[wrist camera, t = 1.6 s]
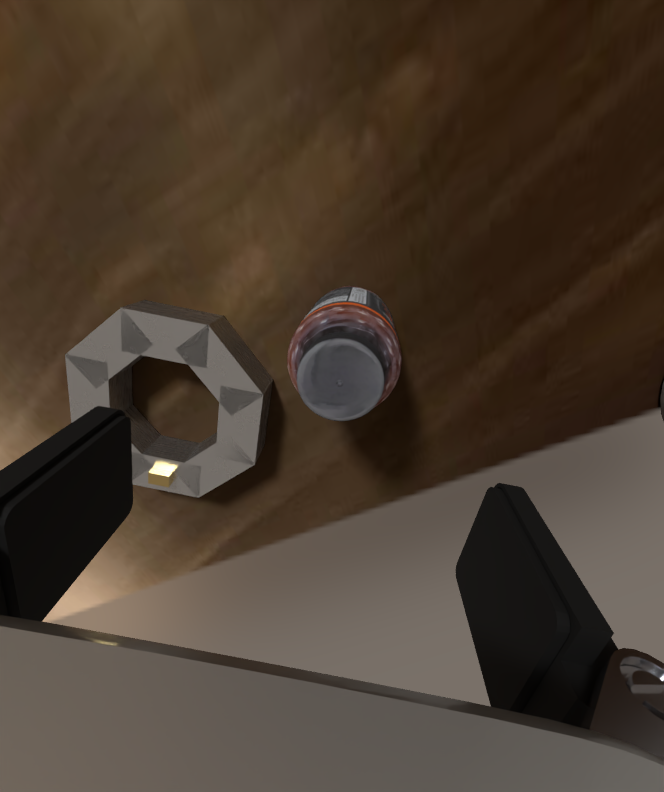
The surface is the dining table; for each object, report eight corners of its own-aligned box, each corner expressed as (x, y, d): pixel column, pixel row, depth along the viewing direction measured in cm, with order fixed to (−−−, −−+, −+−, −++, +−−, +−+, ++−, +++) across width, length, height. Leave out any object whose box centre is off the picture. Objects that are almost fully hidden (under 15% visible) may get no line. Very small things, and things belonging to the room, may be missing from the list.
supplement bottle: (400, 357, 29) (419, 430, 18) (321, 375, 30) (296, 453, 19) (383, 273, 26) (392, 302, 16) (298, 295, 28) (256, 336, 17)
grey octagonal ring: (280, 326, 28) (268, 339, 25) (259, 485, 34) (247, 514, 31) (89, 288, 29) (51, 296, 25) (99, 453, 34) (69, 478, 31)
